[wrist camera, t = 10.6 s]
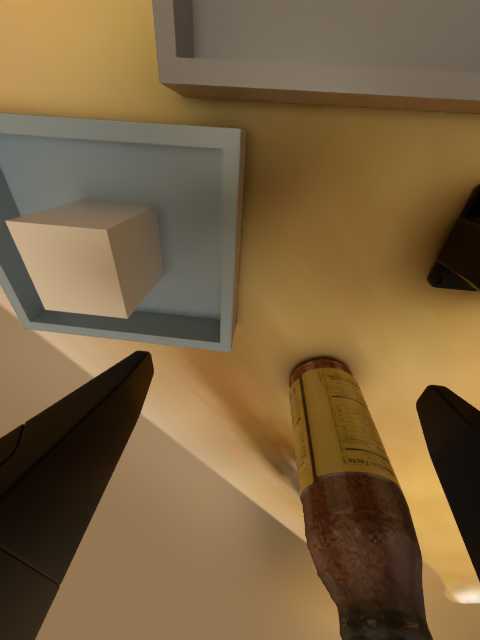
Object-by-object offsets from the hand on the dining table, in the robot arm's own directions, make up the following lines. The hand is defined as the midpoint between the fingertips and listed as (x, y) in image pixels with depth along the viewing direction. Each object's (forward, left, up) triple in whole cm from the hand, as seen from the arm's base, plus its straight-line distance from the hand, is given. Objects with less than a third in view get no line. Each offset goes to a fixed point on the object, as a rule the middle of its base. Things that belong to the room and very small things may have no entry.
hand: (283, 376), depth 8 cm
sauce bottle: (-6, +12, -12) cm, 18 cm away
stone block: (+11, 0, -11) cm, 16 cm away
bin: (+11, 0, -12) cm, 16 cm away
